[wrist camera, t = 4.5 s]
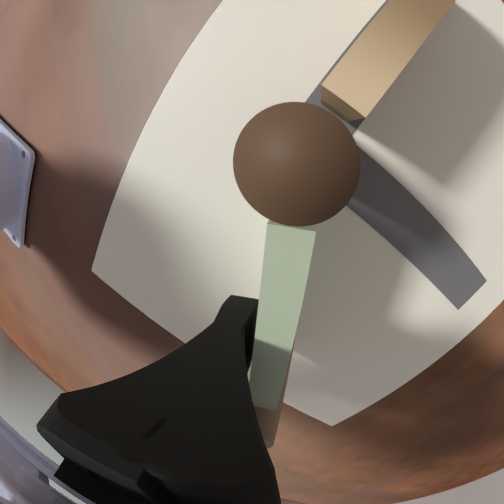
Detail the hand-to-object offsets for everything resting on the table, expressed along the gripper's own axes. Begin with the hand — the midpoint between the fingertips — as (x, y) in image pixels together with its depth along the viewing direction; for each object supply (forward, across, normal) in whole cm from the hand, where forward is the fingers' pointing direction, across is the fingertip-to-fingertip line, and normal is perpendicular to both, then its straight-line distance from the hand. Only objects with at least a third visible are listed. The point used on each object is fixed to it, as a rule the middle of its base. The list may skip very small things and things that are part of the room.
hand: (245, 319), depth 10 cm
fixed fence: (+3, -4, -9) cm, 10 cm away
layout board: (+3, -4, -4) cm, 7 cm away
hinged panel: (+2, -1, -1) cm, 3 cm away
